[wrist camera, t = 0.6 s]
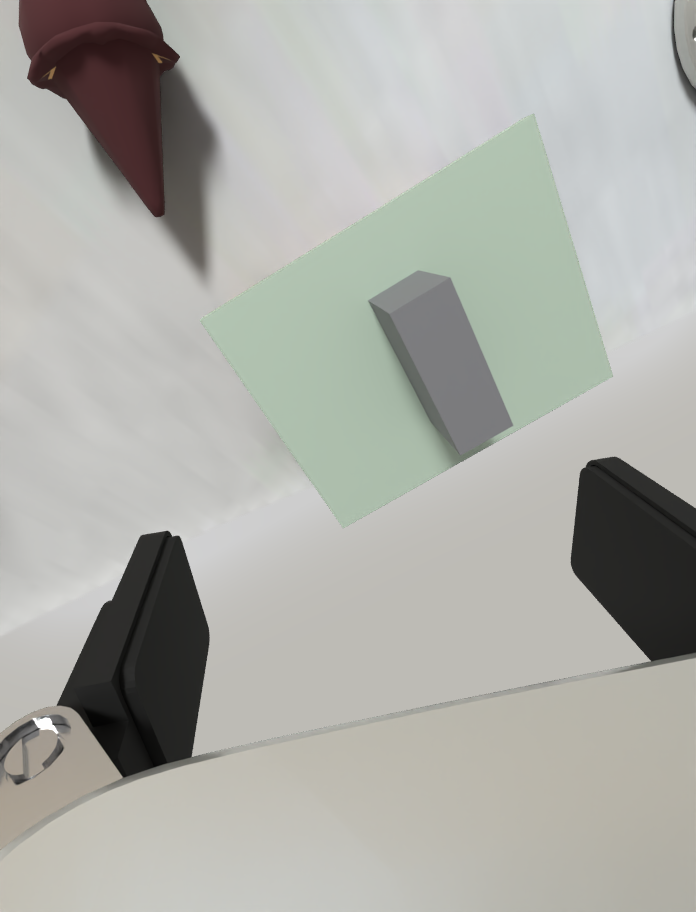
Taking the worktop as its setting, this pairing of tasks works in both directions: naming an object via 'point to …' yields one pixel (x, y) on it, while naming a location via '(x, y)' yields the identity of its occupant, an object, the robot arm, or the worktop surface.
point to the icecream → (106, 77)
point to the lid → (421, 328)
